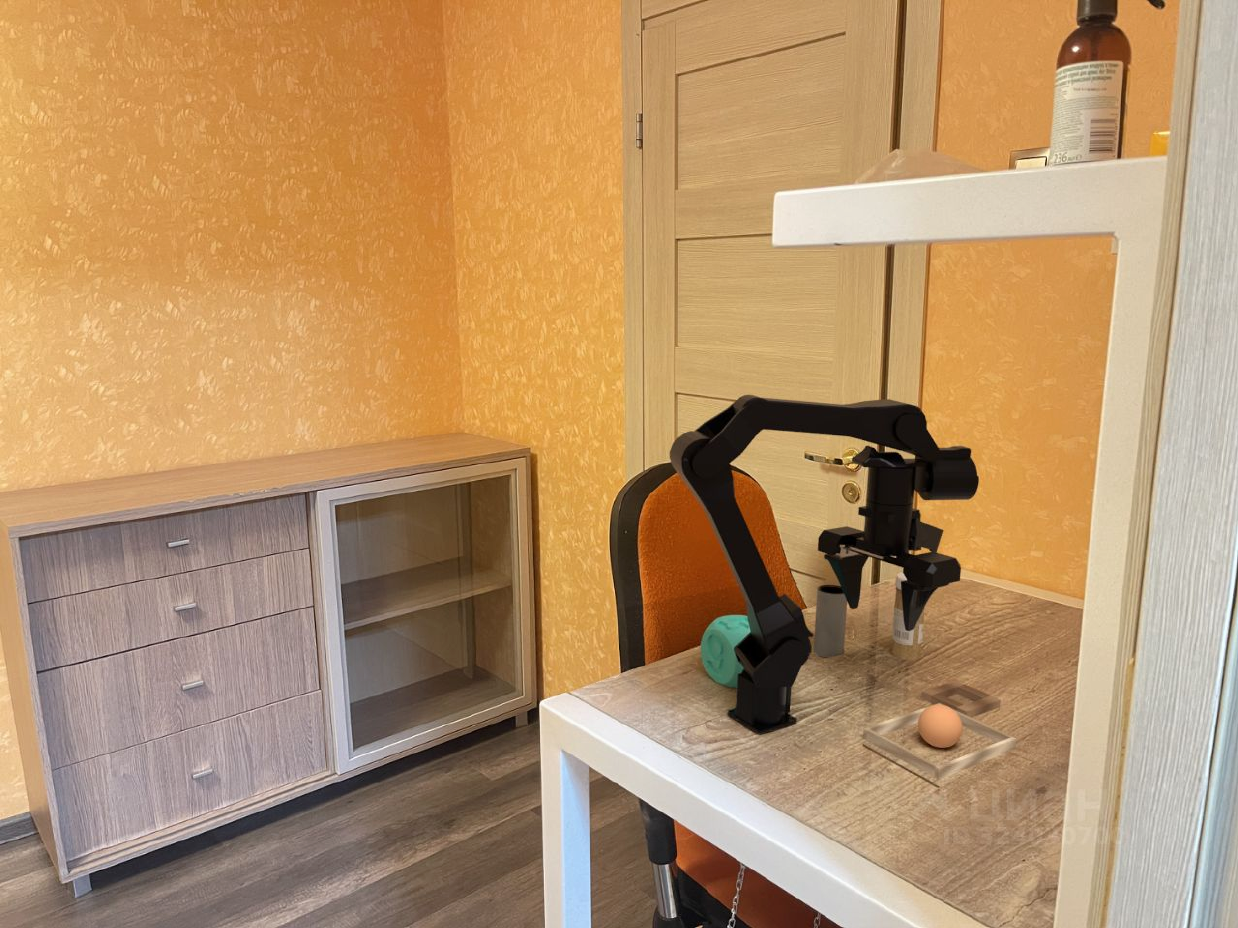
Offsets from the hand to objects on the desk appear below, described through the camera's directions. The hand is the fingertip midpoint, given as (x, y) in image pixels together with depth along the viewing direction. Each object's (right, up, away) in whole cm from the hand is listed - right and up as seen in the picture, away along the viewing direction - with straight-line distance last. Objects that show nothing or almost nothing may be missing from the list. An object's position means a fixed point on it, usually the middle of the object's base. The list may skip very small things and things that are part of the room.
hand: (880, 618), depth 114 cm
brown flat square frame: (+12, -13, +4) cm, 18 cm away
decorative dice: (-17, -11, +13) cm, 24 cm away
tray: (+5, -15, -7) cm, 17 cm away
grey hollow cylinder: (-1, -9, +23) cm, 24 cm away
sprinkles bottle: (+10, -10, +20) cm, 24 cm away
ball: (+5, -14, -8) cm, 16 cm away
